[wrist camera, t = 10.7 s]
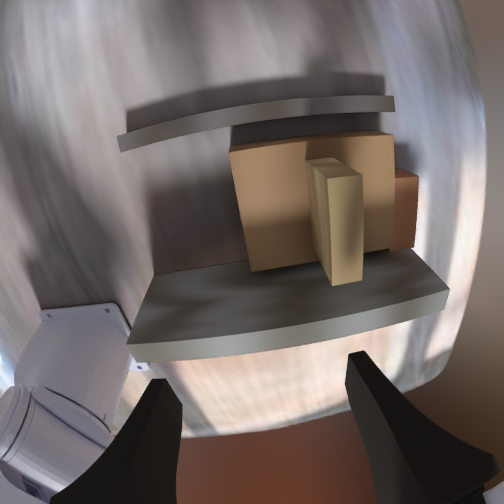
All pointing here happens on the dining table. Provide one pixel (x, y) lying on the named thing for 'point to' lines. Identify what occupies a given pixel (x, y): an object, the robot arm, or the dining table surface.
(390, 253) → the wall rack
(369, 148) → the tan box with handle
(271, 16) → the dining table surface
